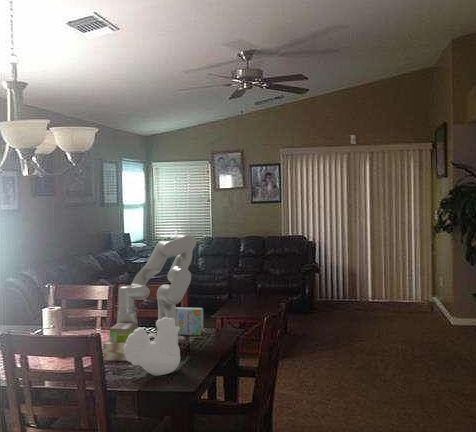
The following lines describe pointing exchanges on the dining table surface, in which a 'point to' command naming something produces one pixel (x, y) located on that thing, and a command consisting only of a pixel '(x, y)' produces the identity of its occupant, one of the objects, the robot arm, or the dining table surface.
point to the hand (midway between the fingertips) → (127, 345)
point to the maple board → (114, 351)
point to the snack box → (189, 320)
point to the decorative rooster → (155, 348)
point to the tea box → (121, 331)
